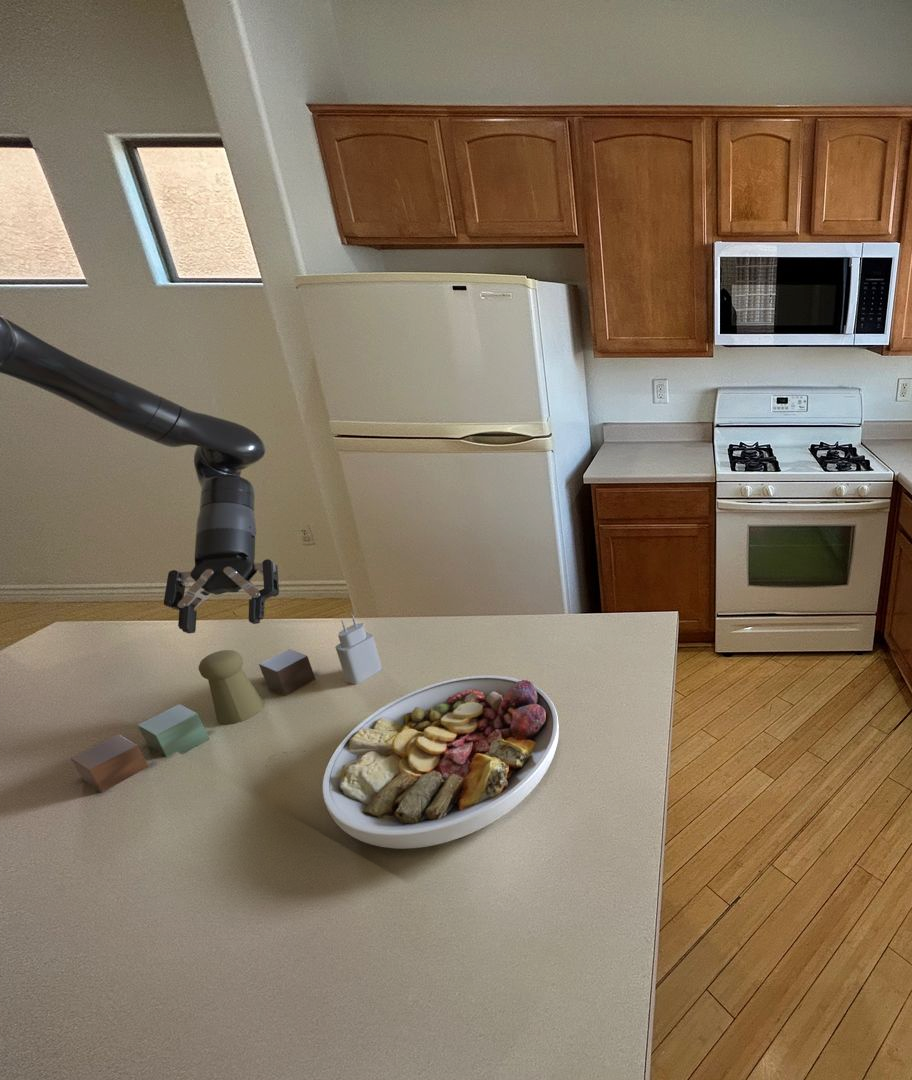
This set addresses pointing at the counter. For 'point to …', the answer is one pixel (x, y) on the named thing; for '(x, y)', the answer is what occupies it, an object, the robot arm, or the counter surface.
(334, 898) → the counter surface
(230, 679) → the cork
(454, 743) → the bowl
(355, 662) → the power adapter
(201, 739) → the block row
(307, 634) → the counter surface
